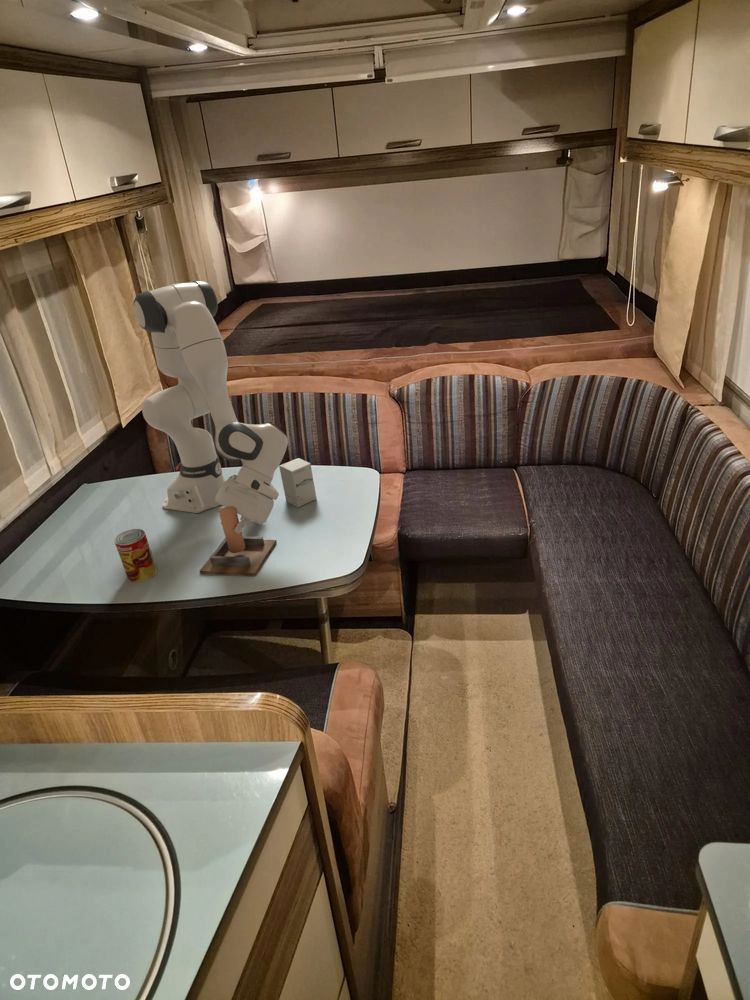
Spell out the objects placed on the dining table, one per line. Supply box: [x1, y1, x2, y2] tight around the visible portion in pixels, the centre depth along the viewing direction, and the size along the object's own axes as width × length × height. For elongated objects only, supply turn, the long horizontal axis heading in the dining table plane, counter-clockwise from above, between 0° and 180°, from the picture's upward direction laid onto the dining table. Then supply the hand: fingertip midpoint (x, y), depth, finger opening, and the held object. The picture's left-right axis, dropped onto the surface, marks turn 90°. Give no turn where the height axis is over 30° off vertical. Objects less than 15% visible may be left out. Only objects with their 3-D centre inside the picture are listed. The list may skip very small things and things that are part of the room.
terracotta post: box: [218, 506, 245, 553], centre depth 171 cm, size 4×4×12 cm
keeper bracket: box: [199, 536, 277, 577], centre depth 175 cm, size 16×16×4 cm
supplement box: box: [278, 457, 317, 508], centre depth 199 cm, size 7×7×13 cm
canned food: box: [114, 528, 158, 583], centre depth 172 cm, size 8×8×12 cm
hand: (230, 528), depth 171 cm, fingers closed on terracotta post, 4 cm apart
